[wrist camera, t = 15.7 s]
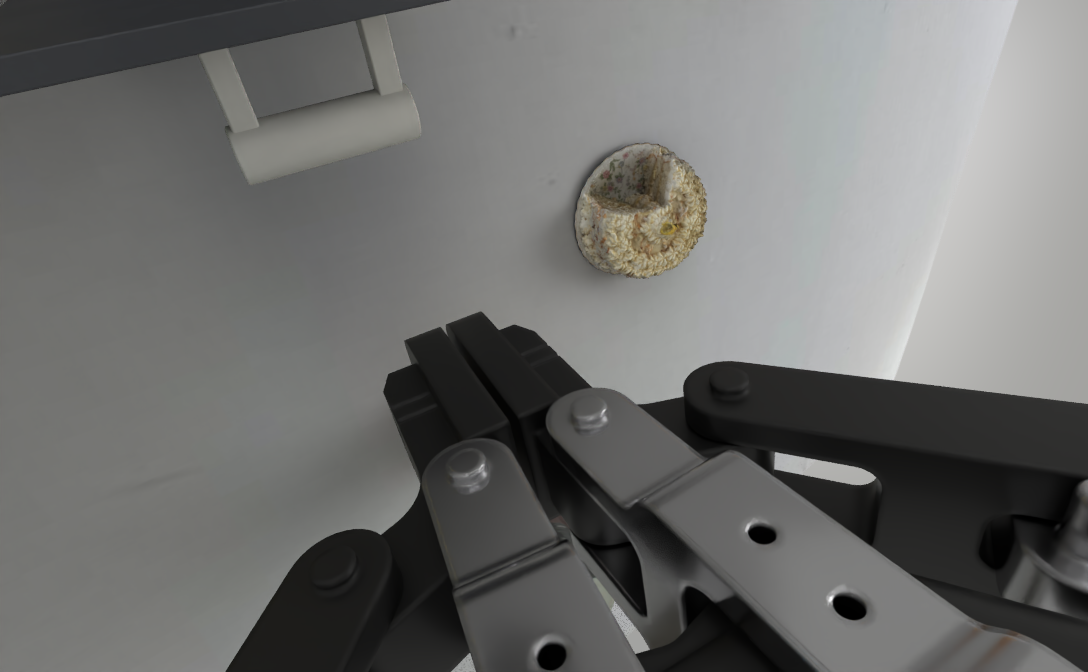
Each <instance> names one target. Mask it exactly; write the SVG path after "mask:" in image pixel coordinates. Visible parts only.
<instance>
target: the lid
mask: <svg viewBox="0 0 1088 672" xmlns="http://www.w3.org/2000/svg"><path fill="white" fill-rule="evenodd" d="M444 1H449V0H7V1H6V2H5V3H4V4H3V5H2V6H0V97H1V96H6V95H11V94H15V93H20V92H25V91H29V90H34V89H39V88H43V87H48V86H53V85H57V84H62V83H67V82H71V81H76V80H81V79H85V78H90V77H95V76H99V75H104V74H109V73H113V72H118V71H123V70H127V69H132V68H137V67H141V66H146V65H151V64H155V63H160V62H165V61H169V60H174V59H179V58H183V57H188V56H193V55H197V54H198V56H199V59H200V61H201V63H202V65H203V68H204V70H205V72H206V74H207V77H208V79H209V81H210V83H211V86H212V88H213V90H214V93H215V95H216V97H217V99H218V102H219V104H220V106H221V108H222V111H223V113H224V115H225V117H226V120H227V122H228V124H229V126H226V127H225V132H226V134H227V137H228V140H229V142H230V145H231V147H232V150H233V152H234V155H235V157H236V159H237V162H238V164H239V166H240V168H241V170H242V173H243V175H244V177H245V179H246V181H247V182H248V184H249V185H254V184H258V183H261V182H265V181H269V180H272V179H276V178H279V177H283V176H286V175H290V174H294V173H297V172H301V171H304V170H308V169H311V168H315V167H319V166H322V165H326V164H329V163H333V162H336V161H340V160H343V159H347V158H351V157H354V156H358V155H361V154H365V153H368V152H372V151H376V150H379V149H383V148H386V147H390V146H393V145H397V144H401V143H404V142H408V141H411V140H415V139H418V138H420V137H421V124H420V119H419V115H418V111H417V108H416V105H415V102H414V99H413V97H412V95H411V93H410V91H409V89H408V87H407V86H406V85H405V83H402V81H401V77H400V73H399V68H398V64H397V60H396V56H395V52H394V48H393V44H392V39H391V35H390V31H389V27H388V23H387V19H386V14H388V13H393V12H398V11H402V10H407V9H412V8H416V7H421V6H426V5H430V4H435V3H440V2H444ZM351 21H356V24H357V27H358V31H359V35H360V38H361V42H362V46H363V49H364V53H365V57H366V60H367V64H368V68H369V71H370V75H371V79H372V83H373V86H374V89H373V90H369V91H365V92H361V93H357V94H353V95H349V96H345V97H341V98H337V99H333V100H329V101H325V102H321V103H317V104H313V105H309V106H305V107H301V108H297V109H293V110H289V111H285V112H281V113H277V114H273V115H269V116H265V117H261V118H256V116H255V113H254V111H253V108H252V106H251V103H250V101H249V98H248V96H247V94H246V91H245V89H244V86H243V84H242V81H241V79H240V76H239V74H238V72H237V69H236V67H235V64H234V62H233V59H232V57H231V54H230V52H229V49H228V48H230V47H235V46H239V45H244V44H249V43H253V42H258V41H263V40H267V39H272V38H276V37H281V36H286V35H290V34H295V33H300V32H304V31H309V30H314V29H318V28H323V27H328V26H332V25H337V24H342V23H346V22H351Z"/></svg>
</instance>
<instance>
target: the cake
mask: <svg viewBox="0 0 1088 672" xmlns="http://www.w3.org/2000/svg"><path fill="white" fill-rule="evenodd" d="M700 180H701V179H700V178H699V177H698V176H696V175H695V171H694V169H692V167H691V166H689V164H688V163H687V162H685V161H684V160H680V159H679V158H678V157H677V156H676V155H675V153H674V152H671V151H670V150H668V149H667V148H666V147H663V146H662V147H661V146H660V145H659V144H650V143H643V144H638V143H637V144H634V145H631V146H627V147H624V148H623V149H621V150H619V151H616V152H614V153H613V155H611V156H609V157H607V158H606V159H605V160H604V161H603V162H602V164H601V165H600V166H598V167H597V168H596V169H595V170H594V172H593V174H592V175H591V176H590V177H589V178H588V180H587V182H586V184H585V186H584V187H583V189H582V191H581V195H580V198H579V200H578V203H577V204H578V205H577V210H576V213H575V218H576V221H575V229H576V238H577V241H578V245H579V248H580V249H581V250H582V253H583V255H584V257H586V258H587V259H588V261H589V262H590V264H592V265H594V267H595V268H598V269H600V270H602V271H604V272H607V273H612V274H622V275H624V276H626V277H627V278H628V277H631V278H636V279H637V278H639V279H640V278H643V279H645V278H648V279H649V277H651V276H653V275H654V276H656V275H657V276H659V275H660V274H662V273H663V272H664V271H665V270H671V269H673V268H675V267H676V266H678V264H679V263H680V262H682V261H683V259H685V258H686V257H687V256H689V251H691V249H693V248H694V245H696V243H697V242H698V240H697V239H698V238H699V237H702V236H703V232H704V224H705V222H706V221H707V220H706V219H707V218H705V215H706V212H705V211H706V210H707V209H708V208H707V205H706V202H707V201H706V199H705V198H704V197H705V196H706V193H705V189H704V188H703V184H702V183H701V182H700Z"/></svg>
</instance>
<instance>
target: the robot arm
mask: <svg viewBox="0 0 1088 672" xmlns="http://www.w3.org/2000/svg"><path fill="white" fill-rule="evenodd" d="M446 331H447V335H448V336H447V335H446V334H445V332H444V331H443V330H442V328H441V327H439V328H436V329H433V330H431V331H428V332H425V333H423V334H420V335H417V336H415V337H412V338H409V339H407V340H405V346H406V349H407V352H408V355H409V358H410V361H411V364H412V365H410V366H407V367H405V368H402V369H400V370H397V371H395V372H392V373H390V374H388V377H387V380H386V384H385V388H384V391H383V392H384V395H385V397H386V400H387V403H388V405H389V408H390V410H391V413H392V415H393V418H394V420H395V423H396V426H397V428H398V431H399V433H400V436H401V438H402V441H403V443H404V446H405V449H406V451H407V454H408V456H409V458H410V460H411V463H412V465H413V467H414V470H415V472H416V474H417V477H418V479H419V481H420V483H421V484H420V490H419V493H418V496H417V498H416V500H415V502H414V504H413V505H412V507H411V508H410V509H409V511H408V512H407V513H406V514H405V515H404V516H403V517H402V518H401V519H400V520H399V521H398V522H397V523H395V524H394V525H393V526H392V527H390V528H389V529H388V530H387V531H385V532H384V533H383V534H382V535H380V534H378V533H376V532H373V531H371V530H365V529H352V530H346V531H342V532H339V533H336V534H333V535H331V536H329V537H327V538H325V539H323V540H321V541H319V542H318V543H316V544H315V545H314V546H312V547H311V548H310V549H308V550H307V551H306V552H305V553H304V554H303V555H302V556H301V557H300V558H299V559H298V560H297V561H296V562H295V564H294V565H293V567H292V568H291V569H290V571H289V572H288V574H287V576H286V577H285V579H284V580H283V582H282V583H281V585H280V587H279V588H278V590H277V591H276V593H275V594H274V596H273V598H272V599H271V601H270V602H269V604H268V605H267V607H266V609H265V610H264V612H263V613H262V615H261V617H260V618H259V620H258V621H257V623H256V624H255V626H254V628H253V629H252V631H251V632H250V634H249V635H248V637H247V639H246V640H245V642H244V643H243V645H242V646H241V648H240V650H239V651H238V653H237V654H236V656H235V657H234V659H233V661H232V662H231V664H230V665H229V667H228V668H227V670H226V672H451V671H452V670H453V669H454V668H455V667H456V666H457V665H458V664H459V663H460V662H461V661H462V660H463V659H464V658H465V657H466V656H467V655H468V654H469V653H471V657H472V660H473V663H474V666H475V670H476V672H1088V404H1082V403H1074V402H1066V401H1058V400H1050V399H1041V398H1033V397H1025V396H1017V395H1008V394H1000V393H992V392H984V391H975V390H966V389H959V388H950V387H942V386H934V385H926V384H918V383H909V382H900V381H893V380H885V379H876V378H868V377H860V376H852V375H843V374H835V373H827V372H818V371H810V370H802V369H794V368H785V367H777V366H769V365H761V364H752V363H744V362H734V361H723V362H715V363H711V364H707V365H704V366H702V367H700V368H698V369H696V370H694V371H693V372H692V373H691V374H690V375H689V376H688V377H687V378H686V380H685V382H684V385H683V392H684V397H680V398H675V399H670V400H665V401H660V402H655V403H649V404H638V405H636V404H635V403H634V402H633V401H631V400H630V399H629V398H627V397H626V396H625V395H623V394H622V393H619V392H617V391H615V390H611V389H606V388H592V387H591V386H590V385H589V384H588V383H587V382H586V381H585V380H584V379H583V378H582V377H581V376H580V375H579V374H578V373H577V372H576V371H575V370H574V369H573V368H572V367H571V366H569V365H568V364H567V363H566V362H565V361H564V360H563V359H562V358H561V357H560V356H558V355H557V353H556V352H555V351H554V350H553V349H552V348H551V347H550V346H548V345H547V343H546V342H545V341H544V340H543V339H542V338H541V337H540V336H539V335H538V334H537V333H536V332H535V331H532V330H529V329H526V328H523V327H520V326H517V325H512V326H509V327H506V328H504V329H501V330H498V329H497V328H496V327H495V326H494V324H493V323H492V322H491V321H490V320H489V319H488V318H487V317H486V316H485V315H484V313H482V312H478V313H475V314H472V315H470V316H467V317H465V318H462V319H459V320H457V321H454V322H451V323H449V324H446ZM775 452H778V453H783V454H789V455H794V456H799V457H805V458H810V459H816V460H821V461H827V462H832V463H838V464H844V465H849V466H854V467H859V468H862V469H864V470H866V471H868V472H870V473H872V474H873V475H874V476H875V477H876V479H875V480H874V481H873V482H871V483H869V484H866V485H850V484H846V483H840V482H835V481H830V480H825V479H820V478H815V477H810V476H805V475H800V474H794V473H789V472H784V471H779V470H774V459H775ZM560 515H561V516H562V517H563V519H564V520H565V522H566V523H567V525H568V526H569V530H570V534H571V539H572V543H573V544H572V543H571V542H570V541H569V540H568V539H564V540H562V541H561V540H560V538H559V537H558V535H557V533H556V532H555V530H554V528H553V526H552V524H551V522H550V520H552V519H554V518H556V517H558V516H560ZM582 560H583V561H582ZM583 562H584V563H585V564H586V565H587V567H588V568H589V569H590V570H591V572H592V573H593V574H594V576H595V577H596V578H597V579H598V581H599V582H600V583H601V584H602V586H603V587H604V588H605V589H606V591H607V592H608V593H609V594H610V596H611V597H612V598H613V599H614V601H615V602H616V603H617V604H618V606H619V607H620V608H621V609H622V611H623V612H624V613H625V615H626V616H627V617H628V618H629V620H630V621H631V622H632V623H633V625H634V626H635V627H636V628H637V630H638V631H639V632H640V634H641V635H642V637H643V638H644V640H645V641H646V643H647V645H648V647H649V649H650V650H648V651H644V652H641V653H638V654H635V653H634V651H633V649H632V648H631V646H630V644H629V642H628V640H627V639H626V637H625V635H624V633H623V631H622V630H621V628H620V626H619V624H618V623H617V621H616V619H615V617H614V616H613V614H612V612H611V610H610V608H609V607H608V605H607V603H606V601H605V600H604V598H603V596H602V594H601V593H600V591H599V589H598V587H597V585H596V584H595V582H594V580H593V578H592V577H591V575H590V573H589V571H588V570H587V568H586V566H585V564H584V563H583Z"/></svg>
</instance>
